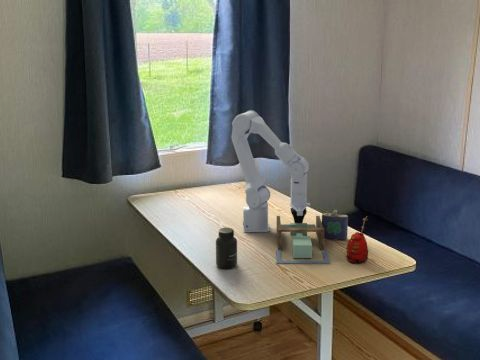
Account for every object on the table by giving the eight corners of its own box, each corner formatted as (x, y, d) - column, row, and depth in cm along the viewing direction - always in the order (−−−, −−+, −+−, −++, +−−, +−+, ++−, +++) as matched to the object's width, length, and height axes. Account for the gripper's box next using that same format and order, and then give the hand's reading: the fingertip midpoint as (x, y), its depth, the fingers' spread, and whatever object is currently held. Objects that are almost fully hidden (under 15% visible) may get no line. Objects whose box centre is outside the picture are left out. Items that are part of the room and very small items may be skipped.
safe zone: (276, 263, 171) (276, 262, 171) (275, 250, 181) (275, 249, 181) (330, 263, 171) (330, 262, 171) (326, 250, 181) (326, 249, 181)
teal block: (293, 258, 175) (293, 244, 173) (290, 235, 194) (290, 222, 192) (311, 258, 174) (312, 244, 173) (306, 235, 193) (306, 222, 192)
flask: (347, 238, 191) (348, 209, 188) (346, 241, 188) (347, 212, 185) (321, 236, 193) (322, 208, 190) (320, 239, 191) (321, 210, 188)
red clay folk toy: (344, 255, 177) (345, 212, 173) (365, 255, 177) (367, 212, 173) (347, 264, 170) (349, 220, 166) (370, 264, 169) (372, 220, 165)
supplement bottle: (235, 270, 167) (234, 234, 164) (213, 269, 168) (212, 233, 165) (239, 261, 174) (238, 226, 170) (219, 260, 175) (217, 225, 172)
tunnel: (277, 249, 182) (278, 229, 180) (276, 232, 197) (276, 213, 195) (324, 249, 181) (324, 229, 179) (319, 232, 197) (319, 213, 195)
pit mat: (278, 230, 199) (278, 230, 199) (278, 225, 204) (278, 224, 204) (316, 230, 198) (316, 230, 198) (314, 225, 204) (314, 224, 204)
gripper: (311, 198, 183) (311, 235, 187) (308, 186, 197) (307, 220, 201) (291, 198, 184) (291, 235, 187) (289, 186, 198) (288, 220, 201)
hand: (298, 227), depth 194 cm, fingers closed
